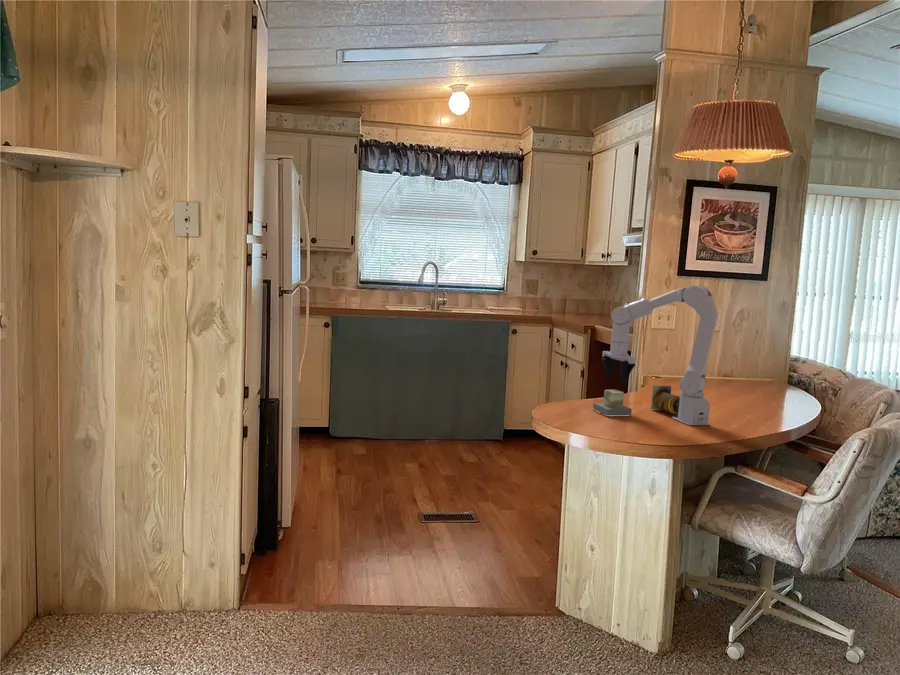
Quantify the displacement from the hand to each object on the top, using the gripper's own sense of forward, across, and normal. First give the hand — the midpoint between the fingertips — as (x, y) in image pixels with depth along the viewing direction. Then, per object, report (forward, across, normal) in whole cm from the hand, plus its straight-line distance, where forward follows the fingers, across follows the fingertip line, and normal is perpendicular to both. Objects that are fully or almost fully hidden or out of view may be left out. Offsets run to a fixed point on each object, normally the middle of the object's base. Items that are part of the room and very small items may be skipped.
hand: (615, 380), depth 233 cm
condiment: (+5, -6, -15) cm, 17 cm away
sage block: (+7, -7, +6) cm, 12 cm away
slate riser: (+10, -7, +6) cm, 14 cm away
